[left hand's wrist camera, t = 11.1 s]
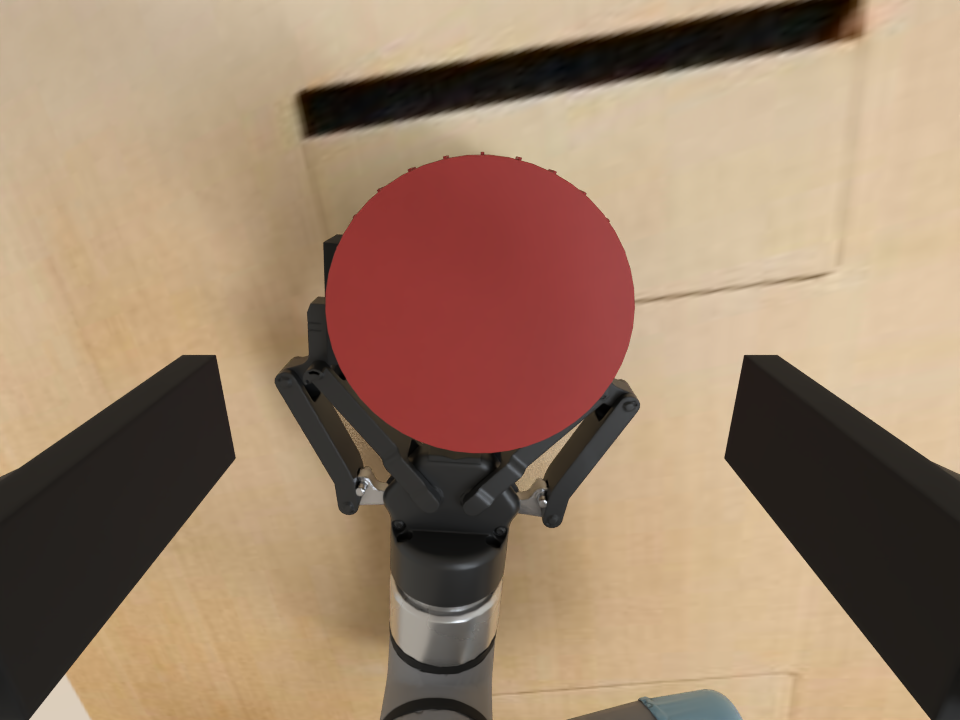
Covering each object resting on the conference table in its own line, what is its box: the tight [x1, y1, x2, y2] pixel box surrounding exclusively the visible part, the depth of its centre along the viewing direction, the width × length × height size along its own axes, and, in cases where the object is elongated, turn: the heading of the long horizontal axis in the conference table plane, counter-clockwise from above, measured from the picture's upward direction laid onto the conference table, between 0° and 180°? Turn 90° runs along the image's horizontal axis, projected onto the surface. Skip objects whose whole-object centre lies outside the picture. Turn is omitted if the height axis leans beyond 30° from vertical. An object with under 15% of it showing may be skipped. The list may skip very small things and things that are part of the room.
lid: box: [325, 152, 635, 453], centre depth 20 cm, size 11×11×2 cm
